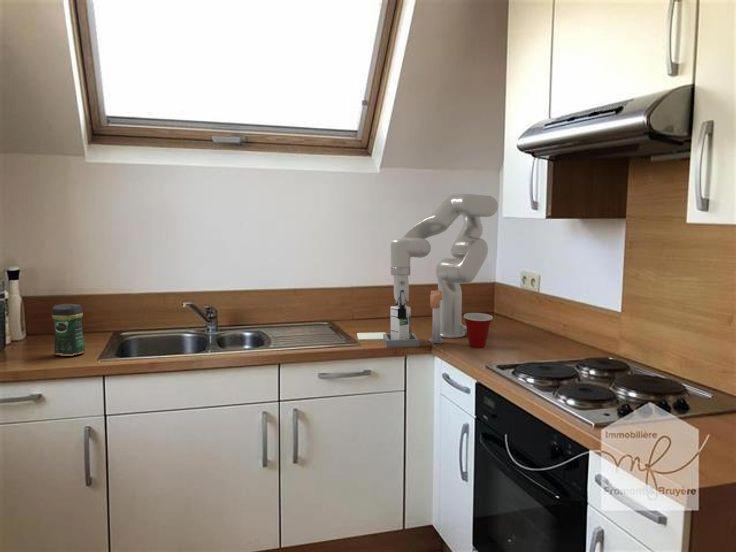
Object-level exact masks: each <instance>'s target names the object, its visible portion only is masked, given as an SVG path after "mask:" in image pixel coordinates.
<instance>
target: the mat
mask: <svg viewBox="0 0 736 552" xmlns="http://www.w3.org/2000/svg"><path fill="white" fill-rule="evenodd" d="M383 334H387V333H386V332H385V331H384V332H357V333H356V336H357V340H358V341H374V340H375V341H379V340H381V341H383Z"/></svg>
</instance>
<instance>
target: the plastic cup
mask: <svg viewBox="0 0 736 552" xmlns="http://www.w3.org/2000/svg"><path fill="white" fill-rule="evenodd" d="M463 318H464V321H465V322H464V323H465V326H466V327H467V330H466V333H467V339H468V344H469V347H470V348H473V349H484V348H485V347H486V345H487V340H488V337H489V330H490V327H491V326H490V325H491V322H492V320H493V319H494V317H493V316H492V315H490V314H488V313H484V312H482V313H481V312H469V313H468V312H467V313H465V314H464V315H463Z"/></svg>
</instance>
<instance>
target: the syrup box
mask: <svg viewBox="0 0 736 552" xmlns="http://www.w3.org/2000/svg"><path fill="white" fill-rule="evenodd" d="M411 310H412V309H411V306H409V305H406V319H398V306H395V305H394V306H390V334H391V340H404V339H411V333H412V331H411V330H412V328H411V327H412V323H411V321H412V317H411V315H412V313H411V312H412V311H411Z"/></svg>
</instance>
